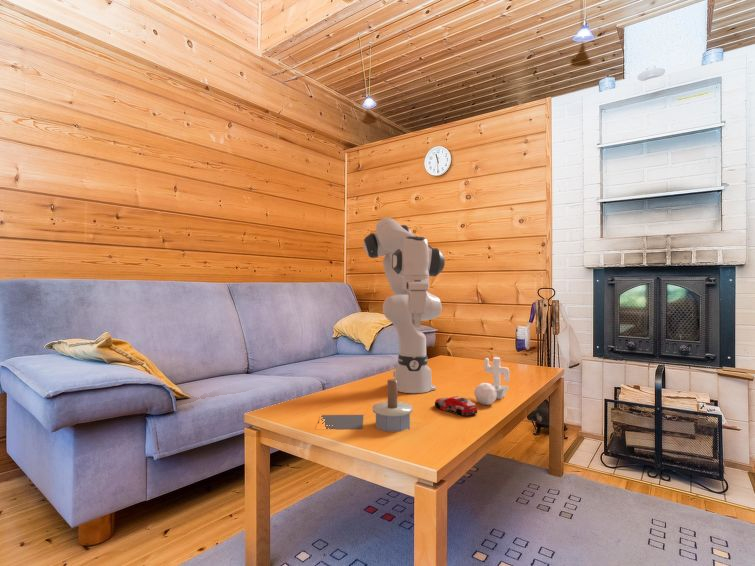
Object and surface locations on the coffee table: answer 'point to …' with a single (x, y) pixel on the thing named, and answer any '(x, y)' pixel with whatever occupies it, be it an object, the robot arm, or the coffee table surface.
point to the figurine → (497, 375)
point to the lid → (392, 403)
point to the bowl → (393, 422)
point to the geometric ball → (485, 393)
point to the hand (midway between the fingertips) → (416, 326)
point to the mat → (343, 421)
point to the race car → (456, 405)
